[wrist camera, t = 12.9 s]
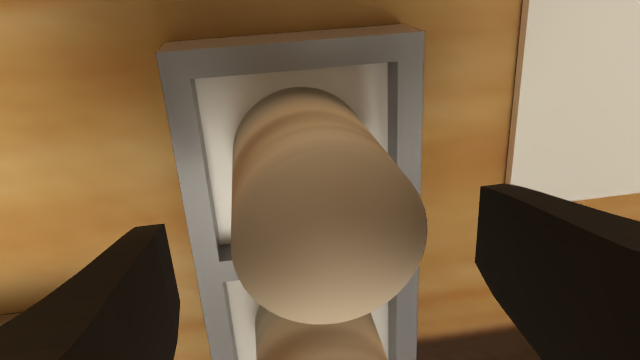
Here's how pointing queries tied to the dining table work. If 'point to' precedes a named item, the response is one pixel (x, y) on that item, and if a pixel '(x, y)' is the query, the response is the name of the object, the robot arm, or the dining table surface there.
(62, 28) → the dining table surface
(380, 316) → the shallow grey tray
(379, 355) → the cylinder
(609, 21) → the plate
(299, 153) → the billet
